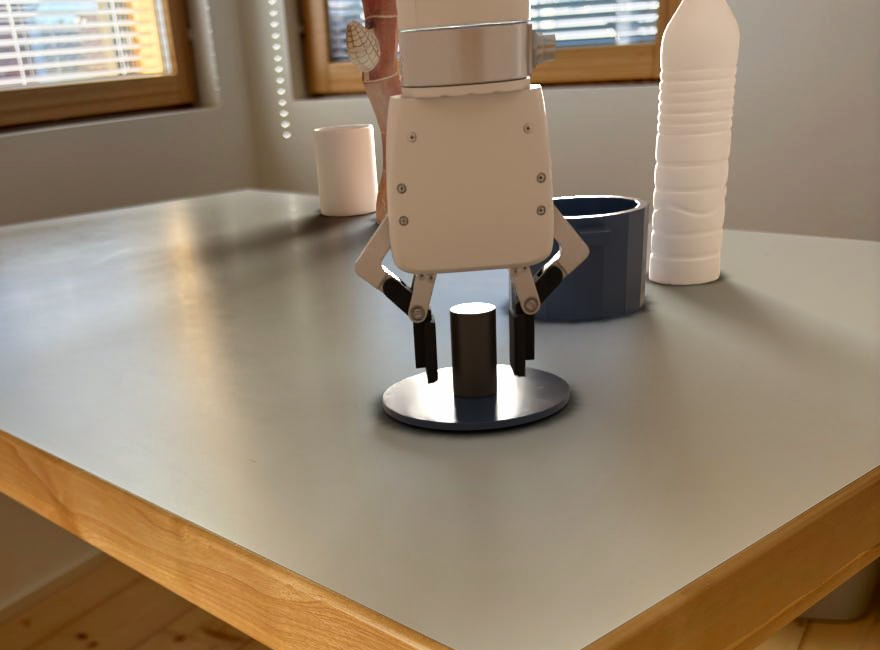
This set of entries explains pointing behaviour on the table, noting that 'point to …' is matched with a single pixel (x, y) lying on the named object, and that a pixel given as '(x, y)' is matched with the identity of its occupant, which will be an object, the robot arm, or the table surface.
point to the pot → (600, 260)
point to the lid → (475, 383)
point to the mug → (346, 169)
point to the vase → (377, 69)
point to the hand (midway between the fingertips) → (474, 371)
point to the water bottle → (693, 142)
